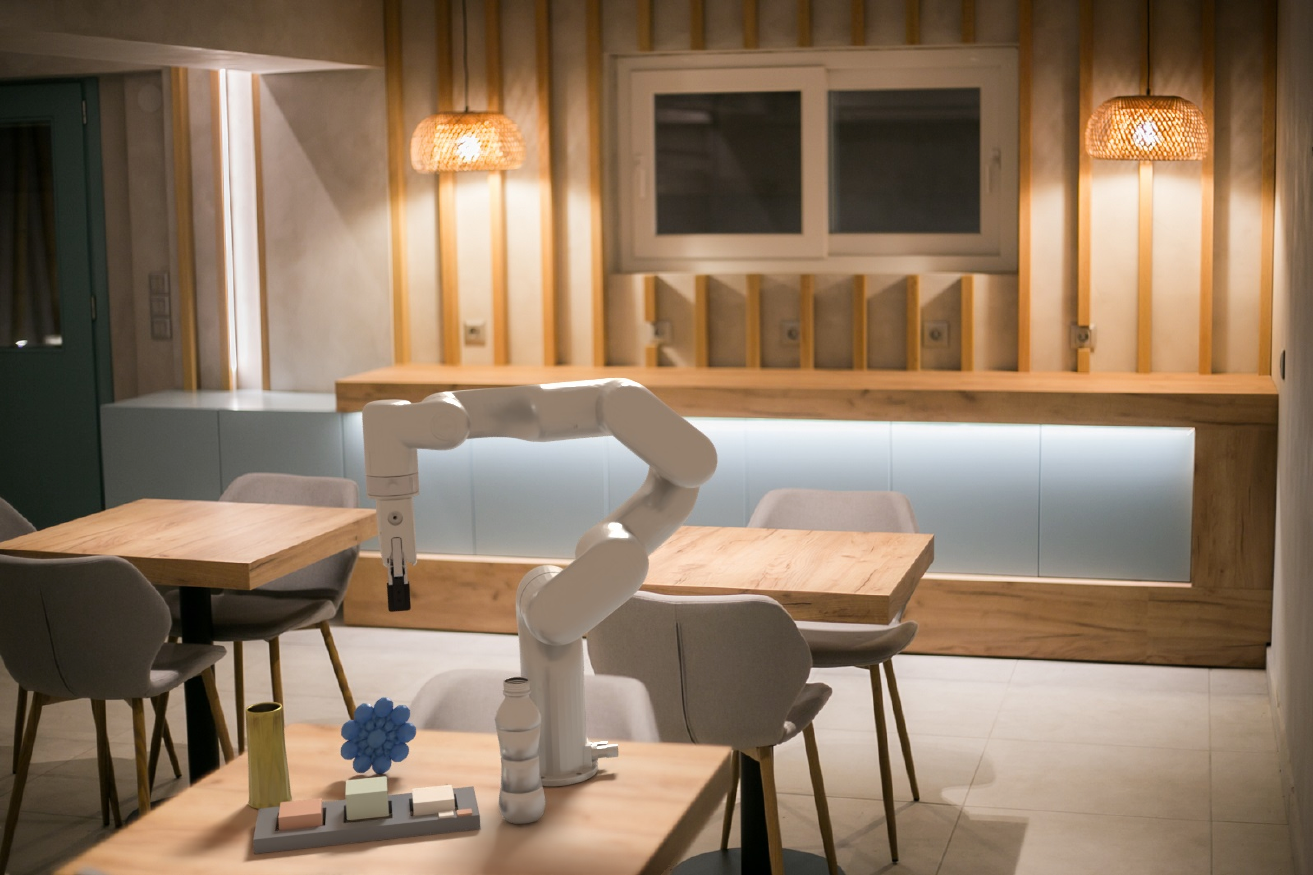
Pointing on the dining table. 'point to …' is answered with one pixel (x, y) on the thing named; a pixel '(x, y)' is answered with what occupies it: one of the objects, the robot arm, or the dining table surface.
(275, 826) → the keypad board
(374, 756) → the blue flower rosette
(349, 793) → the key sage
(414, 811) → the key ivory
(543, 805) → the plastic bottle
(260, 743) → the vase
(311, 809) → the key terracotta
